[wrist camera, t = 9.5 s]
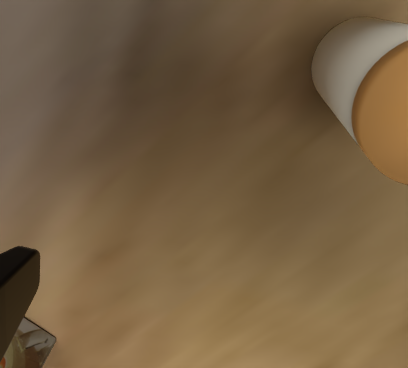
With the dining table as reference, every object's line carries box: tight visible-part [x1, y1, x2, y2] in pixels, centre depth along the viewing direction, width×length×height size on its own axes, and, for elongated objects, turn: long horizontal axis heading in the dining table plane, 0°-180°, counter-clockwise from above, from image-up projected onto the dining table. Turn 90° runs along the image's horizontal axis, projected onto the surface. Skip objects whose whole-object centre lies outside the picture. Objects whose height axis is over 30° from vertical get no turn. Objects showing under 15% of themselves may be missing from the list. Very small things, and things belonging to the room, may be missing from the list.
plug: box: [311, 17, 408, 185], centre depth 14 cm, size 4×4×8 cm
